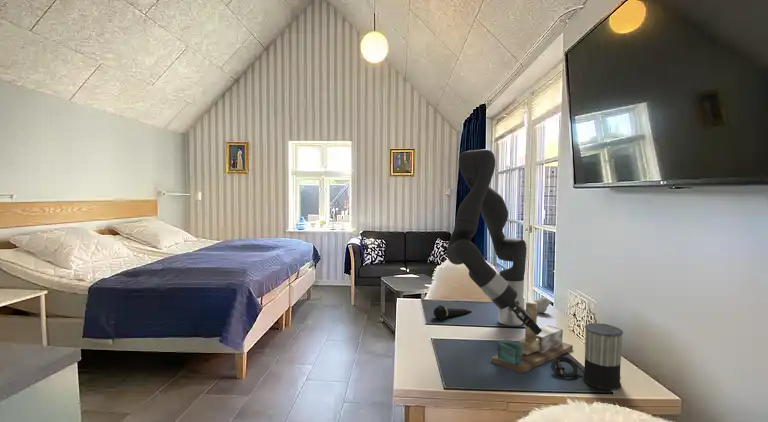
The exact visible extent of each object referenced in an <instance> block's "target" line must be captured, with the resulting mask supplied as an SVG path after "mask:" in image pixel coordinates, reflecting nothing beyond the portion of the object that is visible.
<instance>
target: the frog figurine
mask: <svg viewBox="0 0 768 422" xmlns="http://www.w3.org/2000/svg"><path fill="white" fill-rule="evenodd" d="M532 302H536V303H537V313H540V314H543V313H546V312H547V308H548V307H549V306H550V304H551V300H550V299H549V298H548V297H546V296H540V297H539V298H536V299H534V300H533V301H532Z"/></svg>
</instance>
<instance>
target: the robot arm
mask: <svg viewBox="0 0 768 422" xmlns="http://www.w3.org/2000/svg"><path fill="white" fill-rule="evenodd" d="M458 167H459V170H460V173H461V176H462V177H463V179H464V181H465V183H466V185H467V186H468V188H469V189H470V191H469V192H468V194H466V196H465V197H464V199H463V200H462V201H461V202H460V204H459V207H458V209H457V213H456V219H455V223H454V228H453V230H452V233H451V236H450V237H449V241H448V244H447V248H446V257H447V259H448V261H449V263H451V264H453V265H457V266H458V265H463V264H464V266H465V267H466V268H467V270H468V276H469V278H470V279H471V281H473V282H474V283H475V284H476V285H477V287H478V288H480V290H481V292H483V294H484V295H485V296H486V297H487V298H488V299H489V300H490V301H491V302H492V303H493V304H494V305H495V306H496V307H497V308H498V323H500V324H502V325H504V326H511V327H518V326H522V325H523V324H524V325H526V327H529V328H530V329H531V330H532V331H533V332H534V333H535V334H536V335H538V334H539V333H541V332H542V330H541V329H540V328H541V327H540V326H539V325H538V324H537V325H536V324H535V323H534V321H533V319H531V318H530V317H529V314H528V313H527V311H526V308H525V298H524V296H525V295H524V291H525V288H524V287H525V274H526V273H525V272H526V262H527V249H528V248H527V243H526V241H525V240H524V239H523V238H519V237H517V238H516V237H507V236H506V235H505V233H504V231H503V230H504V228H505V225H507V221H508V220H509V210H508V208H507V204H506V202H505V200H504V198H503V196H502V195H501V194H499V193H498V192H497V191H496V190H495V189H493V188H492V187H491V186H490V184H491V182H492V179H493V176H494V173H495V172H494V171H495V169H496V157H495V155H494V153H493V150H491V149H487V148H483V149H481V148H480V149H474V150H467V151H463V152H461V153H460V154H459V157H458ZM480 214H481V218H482V220H483V221H484V223H485V225H486V228H487V231H488V233H489V236H490V239H491V242H492V245H493V249H494V253H495V255H496V257H497V258H498V259H499V260H501V261H503V262H511V263H512V266H511V267H510V268H506V269H502V270H500V271H499V273H498V272H497V271H496V270H495V269H494V268H493V267H492V266H491V265H490V264H489V263H488V262H487V261H486V259H485V257H484V256H483V254H482V253H481V251H480V250H479V248H478V247H477V246H476V244H475V243H473V242H472V241H471V240H472V238H473V237H474V236H475V234H476V233H477V230H478V226H479V221H480V220H479V219H480ZM528 319H529V321H528V322H527V323H526V321H527V320H528Z"/></svg>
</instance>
